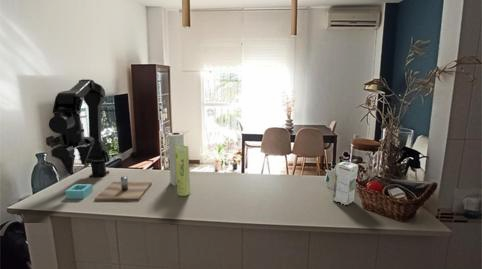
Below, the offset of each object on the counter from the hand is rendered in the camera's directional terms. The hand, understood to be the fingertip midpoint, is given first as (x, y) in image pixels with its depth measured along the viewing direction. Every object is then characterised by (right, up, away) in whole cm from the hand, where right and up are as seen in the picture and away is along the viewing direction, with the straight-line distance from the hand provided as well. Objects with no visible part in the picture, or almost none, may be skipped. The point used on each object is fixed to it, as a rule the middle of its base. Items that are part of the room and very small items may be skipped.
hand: (77, 168), depth 110 cm
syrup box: (+99, -12, -2) cm, 100 cm away
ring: (0, -10, +2) cm, 11 cm away
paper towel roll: (+34, -8, +15) cm, 38 cm away
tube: (+39, -10, +4) cm, 41 cm away
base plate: (+16, -10, +5) cm, 19 cm away
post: (+16, -9, +5) cm, 19 cm away
